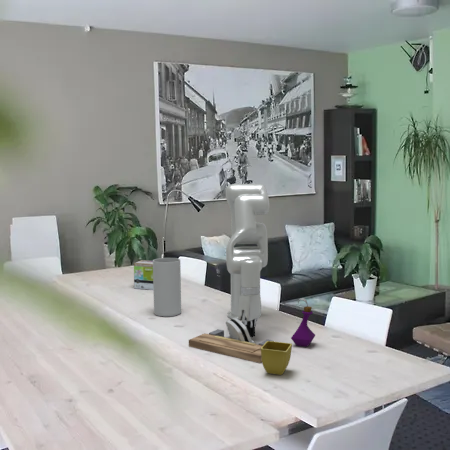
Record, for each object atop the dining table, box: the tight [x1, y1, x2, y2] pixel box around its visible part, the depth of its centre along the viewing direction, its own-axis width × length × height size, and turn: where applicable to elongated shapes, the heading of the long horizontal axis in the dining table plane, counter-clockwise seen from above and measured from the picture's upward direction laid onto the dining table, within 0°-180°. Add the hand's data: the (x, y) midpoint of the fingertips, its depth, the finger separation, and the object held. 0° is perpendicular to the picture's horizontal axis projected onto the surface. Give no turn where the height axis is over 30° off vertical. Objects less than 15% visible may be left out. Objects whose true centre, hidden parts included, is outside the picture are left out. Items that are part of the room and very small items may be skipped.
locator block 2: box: [257, 339, 275, 346], centre depth 212 cm, size 6×3×3 cm, turn 144°
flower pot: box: [261, 340, 293, 376], centre depth 190 cm, size 9×9×9 cm
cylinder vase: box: [152, 257, 182, 318], centre depth 263 cm, size 12×12×25 cm
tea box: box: [133, 259, 154, 291], centre depth 317 cm, size 15×10×15 cm, turn 73°
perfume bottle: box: [290, 297, 316, 348], centre depth 217 cm, size 8×8×18 cm
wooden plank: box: [188, 333, 262, 364], centre depth 212 cm, size 10×32×3 cm, turn 54°
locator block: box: [208, 329, 225, 337], centre depth 226 cm, size 6×3×3 cm, turn 144°
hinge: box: [225, 318, 257, 344], centre depth 222 cm, size 17×5×10 cm, turn 19°
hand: (250, 336), depth 225 cm, fingers closed
